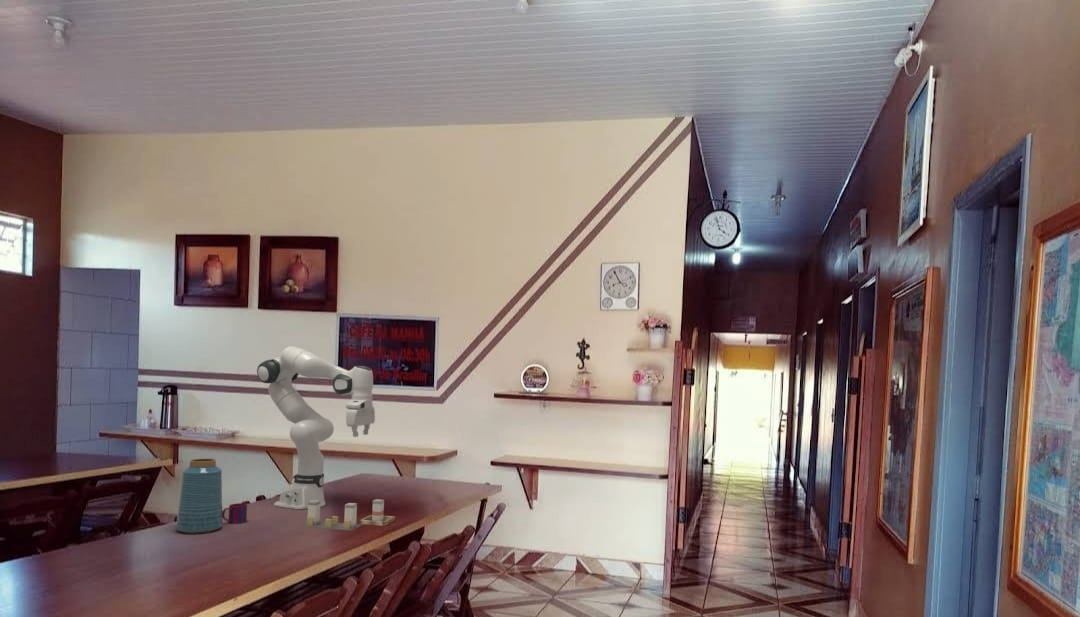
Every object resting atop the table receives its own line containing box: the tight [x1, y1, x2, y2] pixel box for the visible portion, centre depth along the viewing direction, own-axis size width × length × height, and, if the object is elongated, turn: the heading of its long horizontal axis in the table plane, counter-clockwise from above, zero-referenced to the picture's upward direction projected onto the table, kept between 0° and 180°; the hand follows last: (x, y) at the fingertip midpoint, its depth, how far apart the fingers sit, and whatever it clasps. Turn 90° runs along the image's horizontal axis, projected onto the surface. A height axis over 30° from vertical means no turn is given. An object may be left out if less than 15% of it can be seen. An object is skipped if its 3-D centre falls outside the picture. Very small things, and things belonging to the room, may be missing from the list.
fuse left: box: [307, 500, 321, 525], centre depth 290 cm, size 3×3×9 cm
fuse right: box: [343, 502, 358, 528], centre depth 287 cm, size 3×3×9 cm
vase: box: [175, 457, 223, 535], centre depth 283 cm, size 16×16×27 cm
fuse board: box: [299, 515, 363, 532], centre depth 288 cm, size 22×10×4 cm, turn 77°
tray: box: [358, 514, 397, 527], centre depth 297 cm, size 11×11×2 cm
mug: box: [222, 502, 248, 525], centre depth 295 cm, size 7×10×7 cm
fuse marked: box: [371, 498, 385, 522], centre depth 297 cm, size 3×3×9 cm
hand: (360, 435), depth 314 cm, fingers open, 8 cm apart
